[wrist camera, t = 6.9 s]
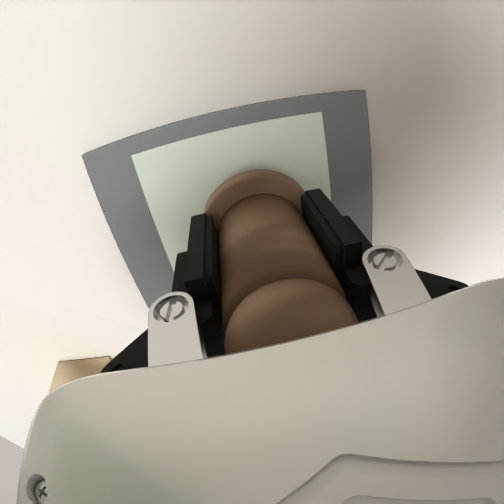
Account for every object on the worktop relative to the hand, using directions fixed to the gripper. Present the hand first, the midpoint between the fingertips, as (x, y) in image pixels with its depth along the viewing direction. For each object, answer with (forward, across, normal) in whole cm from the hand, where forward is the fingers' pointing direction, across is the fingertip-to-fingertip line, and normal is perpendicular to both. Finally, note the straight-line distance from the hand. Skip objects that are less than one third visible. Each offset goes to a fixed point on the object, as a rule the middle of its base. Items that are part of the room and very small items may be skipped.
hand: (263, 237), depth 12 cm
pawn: (+1, 0, 0) cm, 1 cm away
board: (+3, 0, +9) cm, 10 cm away
